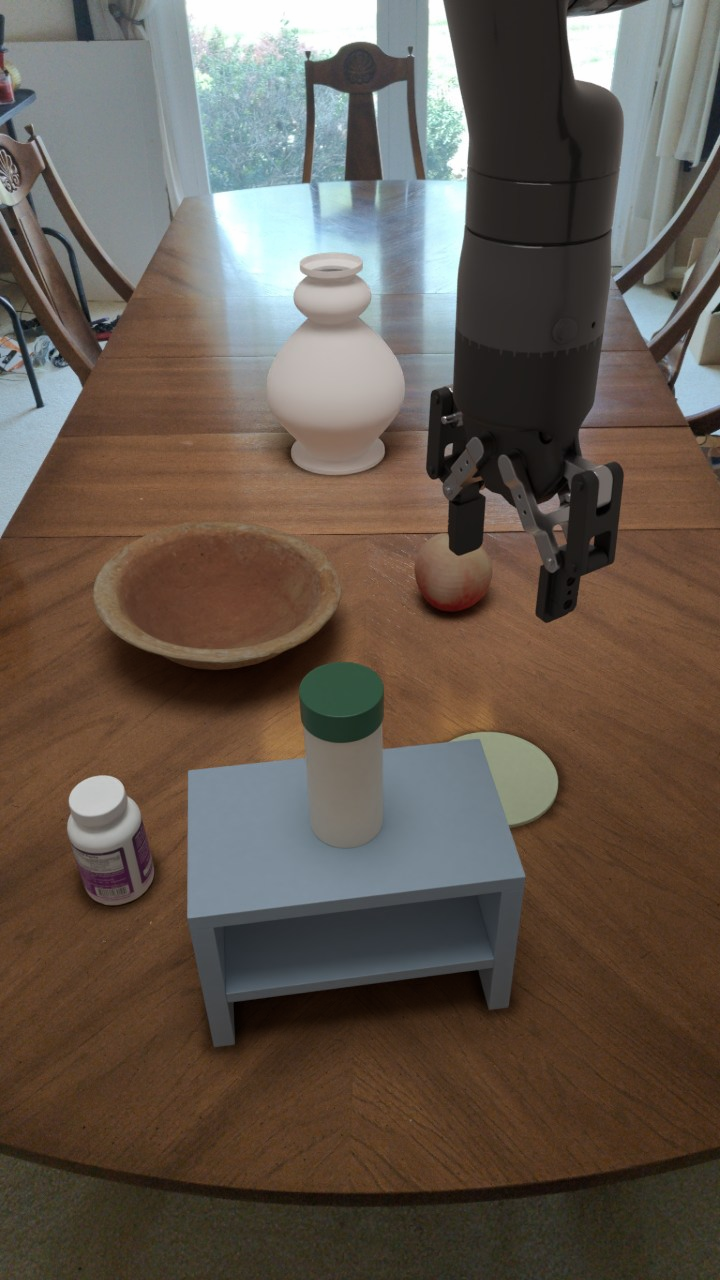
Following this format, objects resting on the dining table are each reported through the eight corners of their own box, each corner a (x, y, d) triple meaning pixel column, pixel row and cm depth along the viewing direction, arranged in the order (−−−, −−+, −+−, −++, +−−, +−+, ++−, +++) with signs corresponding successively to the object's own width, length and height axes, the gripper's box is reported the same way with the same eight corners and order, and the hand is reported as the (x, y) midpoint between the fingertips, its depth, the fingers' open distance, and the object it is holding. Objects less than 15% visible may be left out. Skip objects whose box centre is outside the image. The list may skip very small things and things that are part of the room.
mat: (574, 821, 80) (575, 817, 80) (441, 836, 79) (442, 832, 79) (537, 729, 89) (537, 725, 88) (417, 742, 87) (417, 738, 87)
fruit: (501, 616, 102) (507, 551, 97) (429, 631, 100) (431, 565, 95) (473, 575, 108) (477, 512, 103) (404, 588, 106) (405, 525, 102)
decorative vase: (380, 494, 123) (379, 292, 107) (250, 474, 127) (231, 278, 112) (420, 433, 136) (423, 246, 121) (300, 417, 141) (289, 235, 125)
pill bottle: (121, 842, 79) (99, 756, 73) (169, 872, 77) (150, 786, 71) (70, 887, 76) (42, 801, 70) (118, 920, 73) (94, 834, 67)
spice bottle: (390, 845, 60) (390, 712, 54) (312, 854, 60) (302, 721, 53) (378, 788, 64) (377, 657, 57) (305, 796, 64) (295, 665, 57)
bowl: (286, 744, 88) (280, 676, 83) (60, 688, 94) (42, 621, 89) (375, 599, 105) (374, 535, 100) (178, 560, 112) (169, 498, 107)
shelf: (508, 1008, 67) (526, 876, 58) (214, 1048, 65) (186, 918, 56) (469, 869, 76) (479, 738, 68) (211, 900, 74) (187, 770, 66)
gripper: (687, 345, 47) (635, 620, 57) (501, 269, 56) (485, 514, 66) (566, 381, 44) (533, 664, 54) (391, 294, 53) (391, 547, 63)
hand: (506, 581), depth 60 cm, fingers open, 8 cm apart
